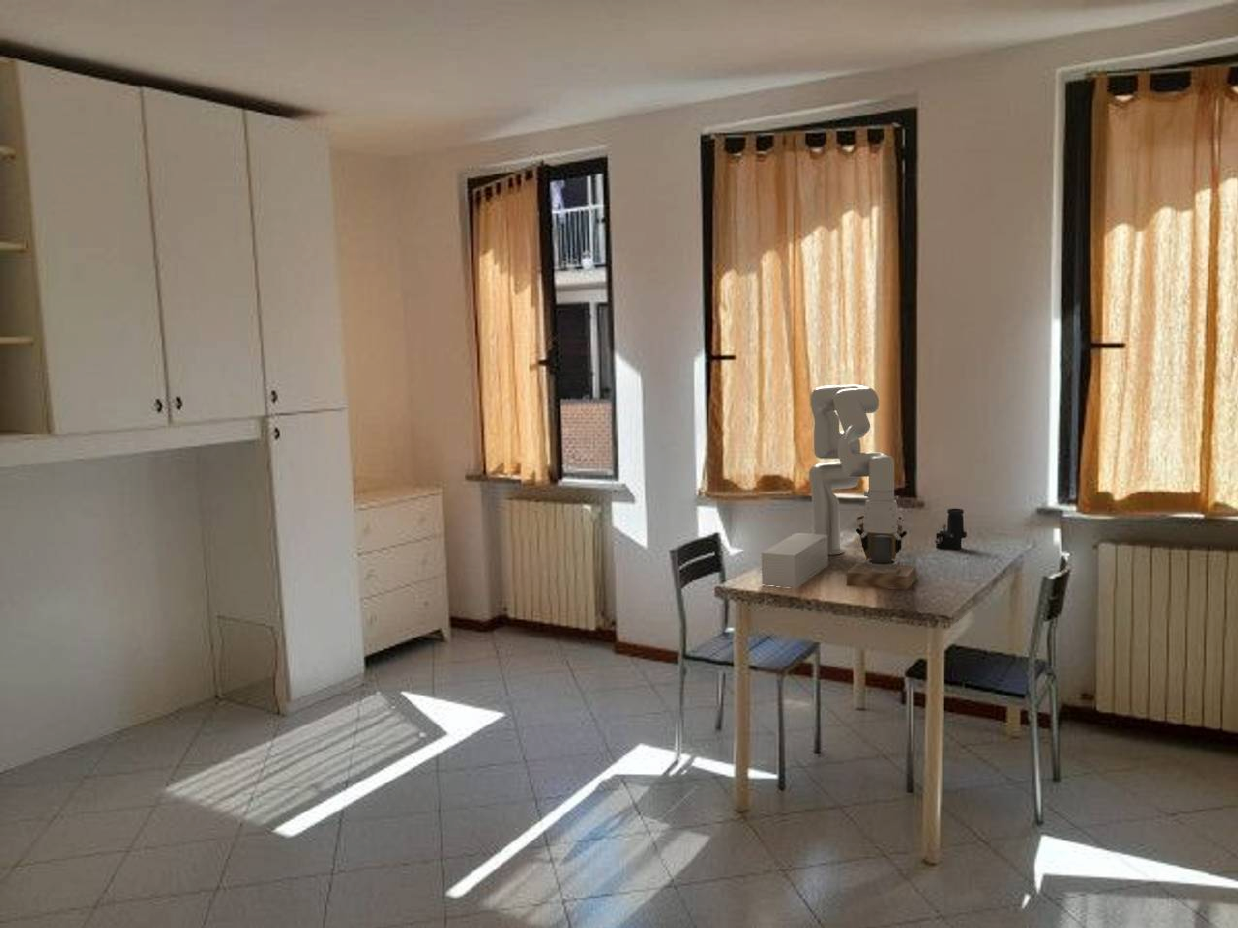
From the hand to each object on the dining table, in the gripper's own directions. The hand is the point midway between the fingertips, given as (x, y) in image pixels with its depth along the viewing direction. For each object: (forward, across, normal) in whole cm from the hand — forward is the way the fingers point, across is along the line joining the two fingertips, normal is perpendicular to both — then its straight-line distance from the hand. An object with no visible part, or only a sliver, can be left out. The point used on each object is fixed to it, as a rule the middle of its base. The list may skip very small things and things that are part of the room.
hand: (881, 550), depth 298 cm
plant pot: (+10, -5, +21) cm, 24 cm away
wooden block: (+10, 0, 0) cm, 10 cm away
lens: (+6, 0, 0) cm, 6 cm away
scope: (+10, +13, +54) cm, 56 cm away
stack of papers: (+10, -27, 0) cm, 29 cm away
